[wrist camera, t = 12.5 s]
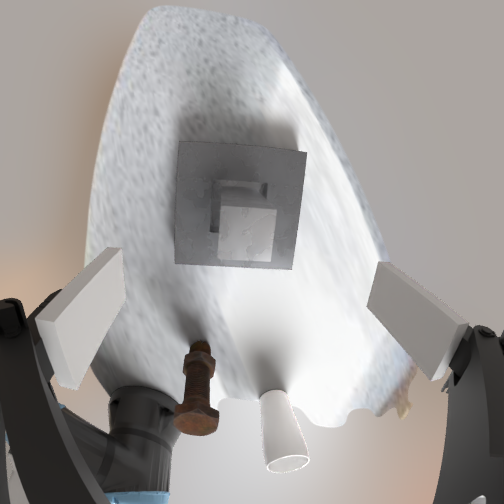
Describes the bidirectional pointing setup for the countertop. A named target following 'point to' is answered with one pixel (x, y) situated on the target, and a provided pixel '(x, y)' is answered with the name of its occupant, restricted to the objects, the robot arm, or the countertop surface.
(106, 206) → the countertop surface
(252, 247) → the peg
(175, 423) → the bolt
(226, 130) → the countertop surface
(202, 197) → the socket block
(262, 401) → the drinking glass
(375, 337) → the countertop surface
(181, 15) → the countertop surface
